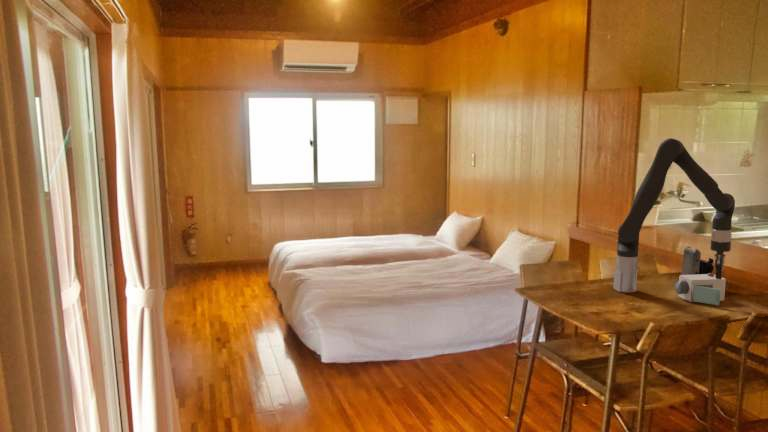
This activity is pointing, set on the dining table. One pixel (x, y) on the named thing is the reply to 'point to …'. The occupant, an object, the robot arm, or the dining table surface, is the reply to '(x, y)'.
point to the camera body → (698, 284)
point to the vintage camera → (695, 263)
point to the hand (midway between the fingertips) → (718, 278)
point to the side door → (705, 295)
